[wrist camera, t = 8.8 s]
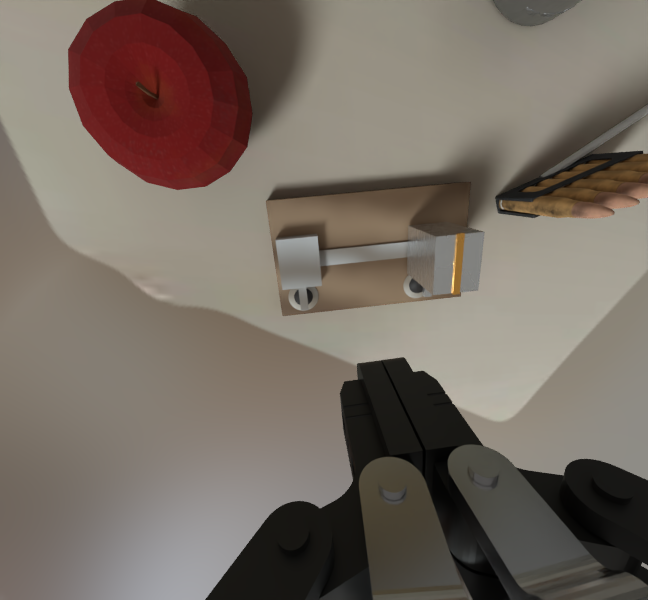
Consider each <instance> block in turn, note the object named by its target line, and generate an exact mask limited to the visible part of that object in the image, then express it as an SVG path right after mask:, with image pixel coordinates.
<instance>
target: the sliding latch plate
mask: <svg viewBox="0 0 648 600" xmlns="http://www.w3.org/2000/svg"><path fill="white" fill-rule="evenodd" d="M470 186H471V182H459V183H448V184H437V185H426V186H415V187H404V188H393V189H383V190H372V191H361V192H350V193H339V194H328V195H317V196H306V197H295V198H284V199H274V200H267V201H266V205H267V212H268V219H269V226H270V233H271V240H272V247H273V253H274V260H275V267H276V274H277V281H278V288H279V295H280V301H281V308H282V315H283V316H288V315H297V314H306V313H315V312H324V311H333V310H342V309H351V308H360V307H369V306H378V305H387V304H396V303H405V302H414V301H423V300H432V299H441V298H450V297H459V296H461V292H460V294H456V295H453V294H452V293H449V294H440V295H432V296H431V297H424V296H423V295H422V290H423V287H422V286H421V285H420V284H419V283H418V282H416V281H415V280H414V279H413V278H412V277H410V276H409V275H408V274H407V258H408V226H409V225H419V224H429V223H439V222H450V223H454V224H457V225H461V226H465V227H467V219H468V208H469V197H470Z"/></svg>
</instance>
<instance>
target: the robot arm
mask: <svg viewBox="0 0 648 600" xmlns="http://www.w3.org/2000/svg"><path fill="white" fill-rule="evenodd" d="M493 1H494V3H495V5H496V7H497V8H498V9H499V11H500V12H501V13H502V14H503V15H504V16H505V17H506V18H508V19H509V20H510V21H511V22H514V23H517V24H519V25H524V26H534V25H539V24H543V23H545V22H547V21H549V20H552V19H554V18H555V17H557V16H558V15H560V14H562V13H564V12H565V11H567V10H569V9H571V8H572V7H574V6H575V5H576V4H577V3H579V2H581V1H582V0H493ZM357 374H358V380H353V381H345V382H344V384H343V387H342V389H341V392H340V398H341V409H342V419H343V430H344V435H345V441H346V445H347V451H348V456H349V461H350V467H351V471H352V477H353V482H352V484H351V486H350V487H349V489H348V490H347V491H346V492H345V494H343V495H342V496H341V497H340V498H338V499H337V500H335V501H334V502H332V503H330V504H328V505H326V506H324V507H322V508H318V507H317V506H315V505H314V504H311V503H309V502H304V501H295V502H290V503H287V504H285V505H282V506H281V507H279V508H278V509H276V510H275V511H274V512H273V513H271V514H270V516H269V517H268V518H267V519H266V520H265V522H264V523H263V524H262V526H261V527H260V528H259V530H258V531H257V532H256V533H255V535H254V536H253V537H252V539H251V540H250V541H249V543H248V544H247V545H246V547H245V548H244V549H243V551H242V552H241V553H240V555H239V556H238V557H237V559H236V560H235V561H234V563H233V564H232V565H231V566H230V568H229V569H228V571H227V572H226V573H225V574H224V576H223V577H222V579H221V580H220V581H219V582H218V584H217V585H216V586H215V588H214V589H213V590H212V592H211V593H210V594H209V596H208V597H207V598H206V599H205V600H648V570H647V569H646V568H644V567H642V566H641V564H642V562H643V563H645V564H647V565H648V480H646V479H643V478H641V477H639V476H636V475H634V474H632V473H630V472H627V471H625V470H623V469H620V468H618V467H616V466H613V465H611V464H608V463H605V462H601V461H597V460H591V459H579V460H575V461H572V462H571V463H569V464H568V465H567V467H566V469H565V473H564V476H563V475H555V474H549V473H542V472H534V471H528V470H523V469H519V468H516V467H515V466H514V465H513V464H512V463H511V462H510V461H509V460H508V459H507V458H506V457H505V456H503V455H502V454H500V453H498V452H497V451H495V450H493V449H490V448H488V447H485V446H483V445H482V443H481V442H480V441H479V439H478V438H477V436H476V435H475V433H474V432H473V431H472V429H471V428H470V426H469V425H468V424H467V422H466V421H465V419H464V418H463V417H462V415H461V414H460V412H459V411H458V409H457V408H456V407H455V405H454V404H452V401H451V400H450V398H449V397H448V395H447V394H445V391H444V390H443V388H442V387H441V385H440V384H439V383H438V381H437V380H436V379H435V378H433V377H432V376H430V375H429V374H427V373H426V372H424V371H418V372H413V371H412V369H411V367H410V366H409V364H408V362H407V361H406V359H405V358H404V357H402V358H395V359H387V360H381V361H373V362H366V363H358V364H357Z"/></svg>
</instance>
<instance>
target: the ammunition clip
mask: <svg viewBox="0 0 648 600" xmlns="http://www.w3.org/2000/svg"><path fill="white" fill-rule="evenodd" d="M548 178H550V179H548ZM639 198H648V154H643V151H633V152H619V153H605V154H592V155H590V156H588V157H585V158H583V159H581V160H578V161H576V162H574V163H573V164H571V165H569V166H568V167H566V168H564V169H561V170H559V171H557V172H555V173H553V174H550V175H548V176H545V177H539V178H537V179H535V180H533V181H530V182H528V183H526V184H523V185H521V186H519V187H517V188H514V189H512V190H510V191H507V192H505V193H503V194H501V195H498V196H496V198H495V199H496V204H497V209H498V213H500V214H508V215H516V216H523V217H531V218H535V217H538V216H540V215H542V216H549V217H557V218H563V217H573V218H602V217H608V216H611V215H613V214H614V211H613V210H612V209H616V208H625V207H631V206H634V205H637V204H639V203H640V201H639V200H637V199H639Z"/></svg>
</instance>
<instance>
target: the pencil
mask: <svg viewBox="0 0 648 600" xmlns="http://www.w3.org/2000/svg"><path fill="white" fill-rule="evenodd" d="M647 114H648V104H647V105H646V106H644V107H643V108H641V109H640V110H638V111H637V112H635V113H634V114H632V115H631V116H629V117H628V118H626V119H625V120H623V121H622V122H620V123H619V124H617V125H616V126H614V127H613V128H611V129H610V130H608V131H607V132H605V133H604V134H602V135H601V136H599V137H598V138H596V139H595V140H593V141H592V142H590V143H589V144H587V145H586V146H584V147H583V148H581V149H580V150H578V151H577V152H575V153H574V154H572V155H571V156H569V157H568V158H566V159H565V160H563V161H562V162H560V163H559V164H557V165H556V166H554V167H552V168H551V169H549V170H548V171H546V172H545V173H543V174H542V175H540V177H545V176H548V175H550V174H553V173H555V172H557V171H559V170H561V169H564V168H566V167H568V166H569V165H571V164H573V163H574V162H576V161H578V160H579V159H581V158H582V157H584V156H585V155H587V154H588V153H590V152H591V151H593V150H594V149H596V148H597V147H599V146H600V145H602V144H603V143H605V142H606V141H608V140H609V139H611V138H612V137H614V136H615V135H617V134H618V133H620V132H621V131H623V130H624V129H626V128H627V127H629V126H630V125H632V124H633V123H635V122H636V121H638V120H639V119H641V118H643V117H644V116H646V115H647ZM548 179H550V178H548Z"/></svg>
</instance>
